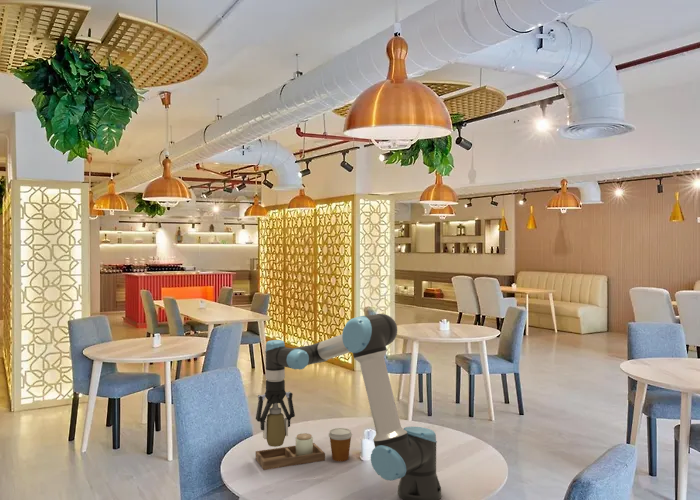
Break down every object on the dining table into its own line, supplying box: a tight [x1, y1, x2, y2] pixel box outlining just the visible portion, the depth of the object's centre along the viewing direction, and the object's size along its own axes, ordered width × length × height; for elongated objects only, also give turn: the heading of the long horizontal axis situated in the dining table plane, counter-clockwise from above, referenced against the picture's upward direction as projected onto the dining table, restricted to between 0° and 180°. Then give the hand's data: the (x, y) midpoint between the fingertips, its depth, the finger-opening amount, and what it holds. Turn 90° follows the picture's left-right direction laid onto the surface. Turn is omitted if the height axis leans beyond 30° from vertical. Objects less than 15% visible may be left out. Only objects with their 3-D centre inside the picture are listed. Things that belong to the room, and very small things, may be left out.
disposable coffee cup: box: [328, 427, 353, 462], centre depth 240 cm, size 10×10×12 cm
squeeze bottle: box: [266, 403, 287, 448], centre depth 236 cm, size 8×8×18 cm
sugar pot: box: [295, 432, 314, 456], centre depth 241 cm, size 7×7×9 cm
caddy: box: [255, 442, 326, 471], centre depth 239 cm, size 13×25×4 cm, turn 113°
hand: (275, 436), depth 236 cm, fingers closed on squeeze bottle, 8 cm apart
